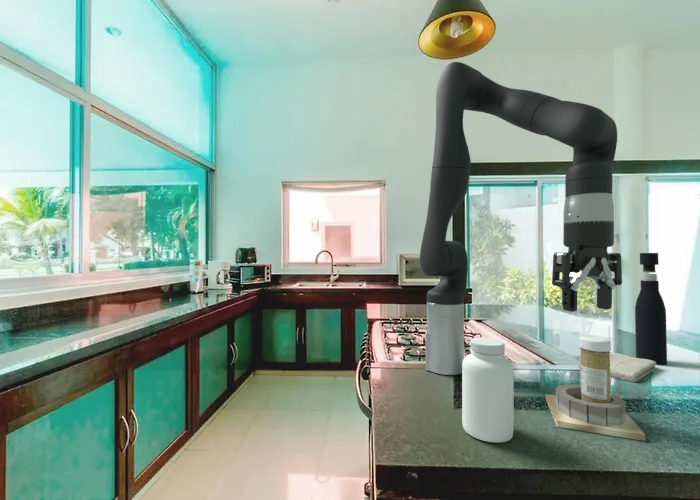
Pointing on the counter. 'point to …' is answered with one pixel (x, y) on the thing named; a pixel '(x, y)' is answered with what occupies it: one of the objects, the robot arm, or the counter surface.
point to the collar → (592, 414)
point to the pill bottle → (488, 391)
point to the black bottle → (650, 315)
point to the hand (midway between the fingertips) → (587, 309)
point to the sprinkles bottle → (595, 369)
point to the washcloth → (629, 367)
